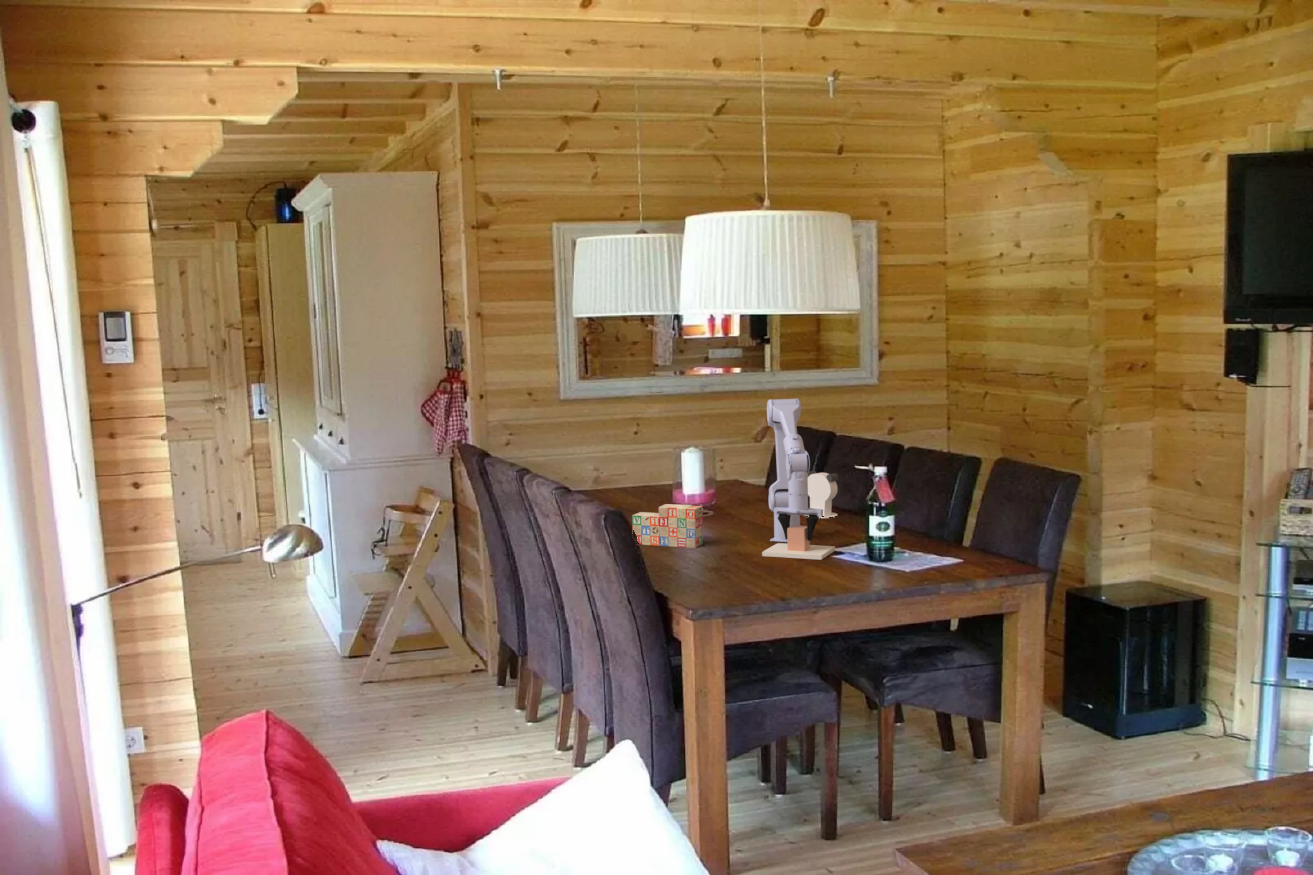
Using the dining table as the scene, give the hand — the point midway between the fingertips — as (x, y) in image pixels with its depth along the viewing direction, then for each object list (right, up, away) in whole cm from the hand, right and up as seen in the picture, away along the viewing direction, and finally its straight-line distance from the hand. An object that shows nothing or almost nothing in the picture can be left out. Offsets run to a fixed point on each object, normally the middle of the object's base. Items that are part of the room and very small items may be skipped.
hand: (798, 539), depth 372 cm
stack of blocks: (-38, -3, +20) cm, 43 cm away
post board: (0, -4, 0) cm, 4 cm away
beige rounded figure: (+15, +3, +62) cm, 64 cm away
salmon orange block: (0, -3, 0) cm, 3 cm away
